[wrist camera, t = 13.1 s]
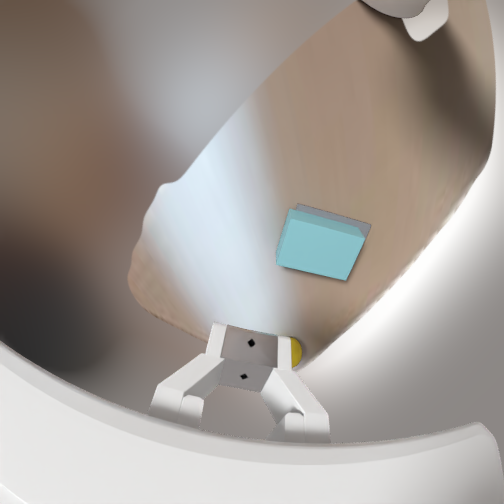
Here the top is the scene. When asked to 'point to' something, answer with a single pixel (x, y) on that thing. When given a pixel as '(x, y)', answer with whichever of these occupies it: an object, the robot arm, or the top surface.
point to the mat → (336, 219)
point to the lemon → (295, 352)
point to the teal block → (318, 245)
